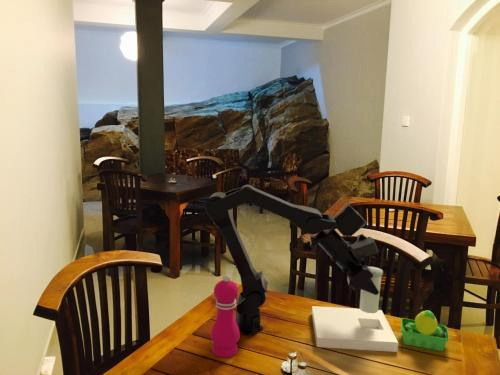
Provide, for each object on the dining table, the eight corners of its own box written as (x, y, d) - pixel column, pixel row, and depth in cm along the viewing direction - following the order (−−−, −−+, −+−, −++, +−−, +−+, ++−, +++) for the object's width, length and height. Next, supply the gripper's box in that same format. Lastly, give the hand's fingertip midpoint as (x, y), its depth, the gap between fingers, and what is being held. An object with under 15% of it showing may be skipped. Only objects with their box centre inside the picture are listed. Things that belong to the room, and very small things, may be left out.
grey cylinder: (354, 308, 116) (357, 269, 114) (365, 302, 119) (369, 265, 117) (371, 315, 112) (375, 275, 110) (383, 309, 115) (386, 270, 113)
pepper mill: (235, 361, 103) (237, 282, 100) (206, 356, 105) (207, 278, 101) (242, 345, 110) (244, 271, 107) (215, 341, 112) (216, 268, 108)
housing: (316, 350, 109) (317, 337, 108) (311, 317, 126) (312, 306, 126) (397, 355, 108) (398, 342, 107) (380, 321, 125) (381, 310, 125)
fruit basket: (444, 343, 114) (449, 303, 112) (447, 360, 106) (452, 318, 104) (399, 334, 118) (403, 296, 116) (399, 351, 110) (402, 309, 108)
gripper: (367, 238, 103) (410, 284, 104) (354, 219, 121) (390, 259, 122) (332, 267, 105) (374, 313, 106) (324, 244, 123) (360, 283, 124)
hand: (375, 289), depth 114 cm, fingers closed on grey cylinder, 5 cm apart
